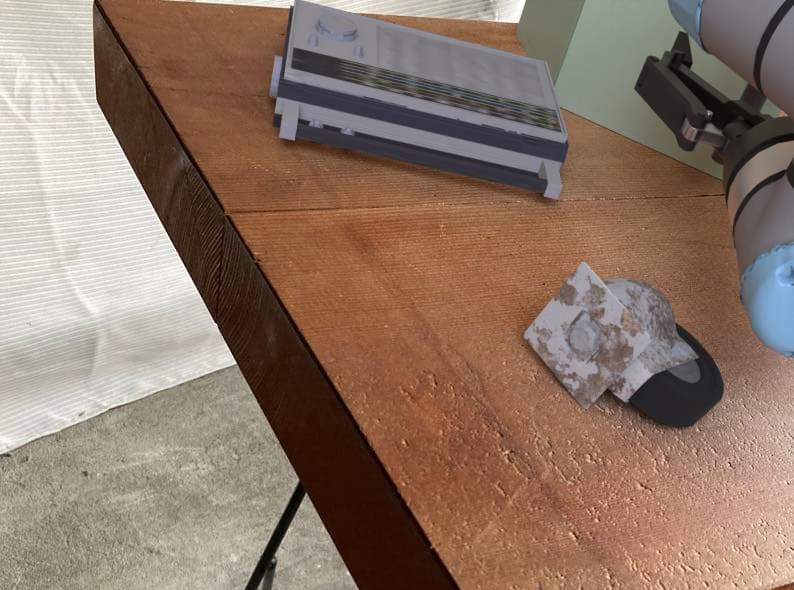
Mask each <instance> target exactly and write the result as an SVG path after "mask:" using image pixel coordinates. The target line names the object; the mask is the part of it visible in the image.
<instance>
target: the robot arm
mask: <svg viewBox="0 0 794 590" xmlns="http://www.w3.org/2000/svg"><path fill="white" fill-rule="evenodd" d="M668 5H669V8H670V11H671V14H672V16H673V17H674V19H675V20H676V21H677V23H678V24H679V25H680V26H681V27H682V28H683V29H684V30H685V31H686V32H687V33H685V32H682V31H679V33H678V35H677V38H676V40H675V42H674V45H673V47H672V49H671V52H670V51H665V52H664V54H663V56H662V59H661V60H660V59H659V58H658V57H656V56H651V55H650V56H647V58H646V61H645V63H644V65H643V68H642V70H641V72H640V75H639V77H638V80H637V82H636V85H635V87H634V89H635V91H636V92H637V93H638V94H639V95H640V96H641V97H642V98H643V100H644V101H645V102H646V103H647V104H648V105H649V106H650V107H651V109H652V110H653V111H654V112H655V113H656V114H657V115H658V116H659V118H660V119H661V120H662V121H663V122H664V123H665V124H666V125H667V127H668V128H669V129H670V130H671V131H672V132H673V133H674V134H675V137H676V140H677V143H678V146H679V147H680V148H681V149H683V150H684V151H688V152H692V151H694V149H695V147H696V146H697V145H698V144H699V142H700V143H703V144H707V145H711V146H713V147H714V148H715V150H716V152H717V154H718V155H719V156H720V157H721V158H722V159H723V160H724V163H723V181H722V188H723V192H724V193H723V194H724V198H725V204H726V209H727V212H728V218H729V219H728V220H729V224H730V230H731V234H732V241H733V245H734V246H733V247H734V249H735V254H736V262H737V269H738V276H739V277H738V278H739V285H738V287H739V299H740V303H741V305H742V307H744V309H745V313H746V315H747V318H748V320H749V324H750V327H751V329H752V331H753V333H754V335H755V336H756V337H757V339H758V340H759V341H760V342H761V344H763V345H764V346H765V347H766V348H768V349H769V350H770V351H772V352H775V353H777V354H779V355H780V356H783V357H784V358H785V357H786V358H791V359H794V0H668ZM688 34H689V35H690V36H691V37H692V38H693V39H694V40H695V41H696V42H697V43H698V45H699V46H700V48H701V49H702V50H703V51H705V52H706V53H707V54H711V55H713V56H715V57H716V58H717V59H718V60H720V61H721V62H722V63H724V64H725V65H726V66H727V67H729V68H730V69H731V70H732V71H734V72H735V73H736V74H738V75H739V76H740V77H741V78H743V79H744V80H745V81H747V82H748V83H749V84H750V85H752V86H753V87H754V88H755V89H757V90H758V91H759V92H761V93H762V94H763V95H764V96H765V97H767V98H768V99H769V100H770V101H771V102H772V103H773V104H775V105H776V106H777V107H778V108H780V109H781V112H783V113H784V114H786V115H783V116H782V115H781V116H778V117H777V118H773V117H772V116H771V115H769V114H762V113H760V112H759V111H757V110H756V109H755V108H753V107H752V106H751V105H749V104H748V103H747V102H745V101H744V100H730V99H729V98H728V97H726V96H725V95H724V94H722V93H721V92H720V91H718V90H717V89H716V88H714V87H713V86H712V85H710V84H709V83H708V82H706V81H705V80H704V79H702V78H701V77H700V76H698V75H697V74H696V73H694V72H693V71H692V70H690V68H691V66H692V64H693V60H692V54H691V48H690V42H689V35H688ZM739 116H742V117H743V118H744V119H742V120H739V121H737V120H738V118H739Z"/></svg>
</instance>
